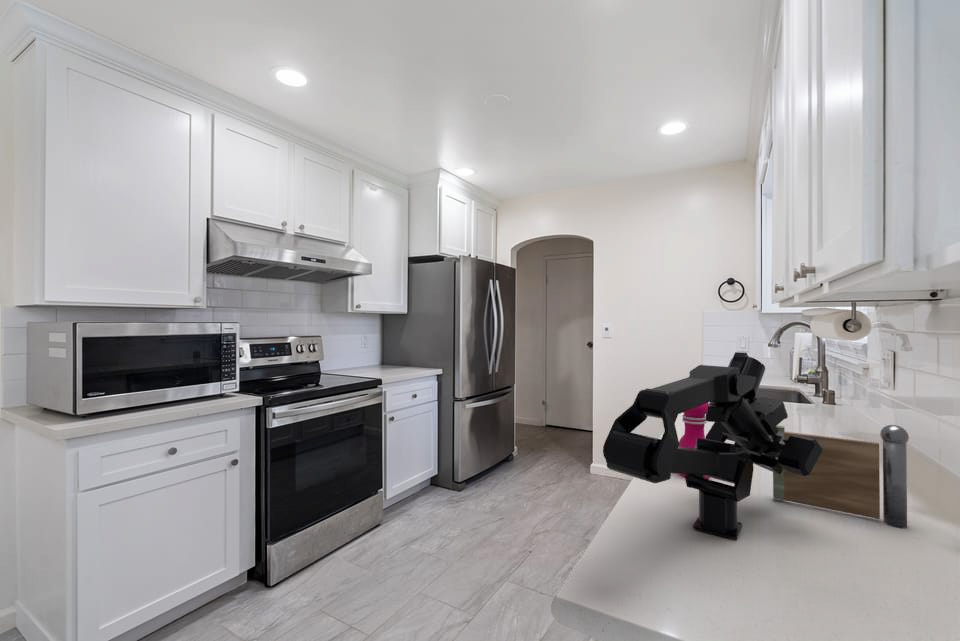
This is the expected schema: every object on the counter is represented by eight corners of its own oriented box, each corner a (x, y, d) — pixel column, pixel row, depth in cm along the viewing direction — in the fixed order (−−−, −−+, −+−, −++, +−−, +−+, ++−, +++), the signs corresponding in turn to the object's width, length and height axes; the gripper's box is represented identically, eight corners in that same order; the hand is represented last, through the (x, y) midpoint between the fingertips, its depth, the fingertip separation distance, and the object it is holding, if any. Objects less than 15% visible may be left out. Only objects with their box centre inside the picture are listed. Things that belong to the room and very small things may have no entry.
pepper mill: (675, 477, 100) (675, 388, 100) (678, 468, 106) (678, 384, 106) (712, 483, 97) (712, 390, 97) (712, 473, 103) (712, 386, 103)
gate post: (911, 530, 74) (910, 428, 74) (882, 525, 76) (881, 425, 76) (907, 523, 77) (906, 424, 77) (880, 517, 79) (879, 421, 79)
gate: (880, 519, 77) (879, 438, 77) (773, 498, 87) (772, 426, 87) (879, 516, 79) (878, 436, 79) (774, 495, 88) (773, 424, 88)
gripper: (815, 391, 73) (855, 450, 77) (714, 378, 90) (752, 427, 94) (784, 445, 70) (828, 504, 74) (686, 421, 87) (726, 470, 91)
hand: (779, 471), depth 84 cm, fingers closed
